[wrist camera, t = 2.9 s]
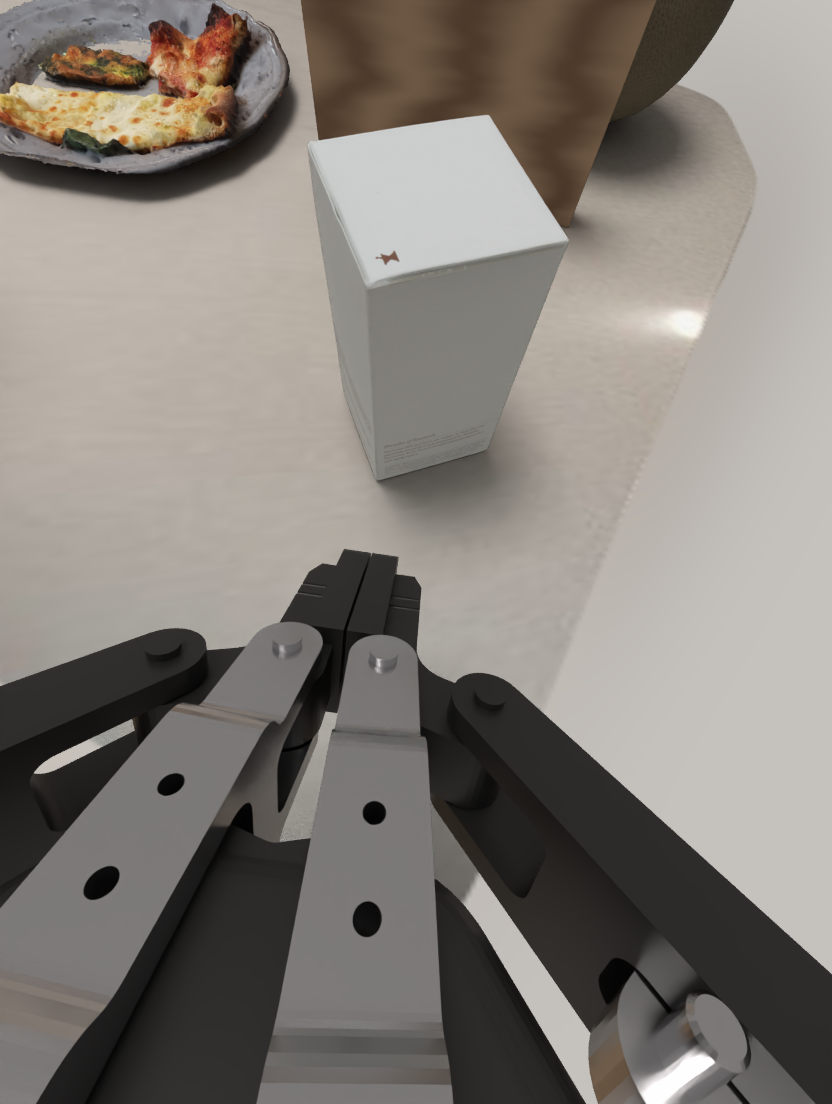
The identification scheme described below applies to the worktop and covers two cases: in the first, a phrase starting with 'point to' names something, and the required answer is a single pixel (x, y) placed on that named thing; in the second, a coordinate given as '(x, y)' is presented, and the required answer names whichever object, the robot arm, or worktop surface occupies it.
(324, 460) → the worktop surface
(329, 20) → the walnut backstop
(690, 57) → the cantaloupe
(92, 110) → the food plate
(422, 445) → the supplement box
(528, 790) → the robot arm
